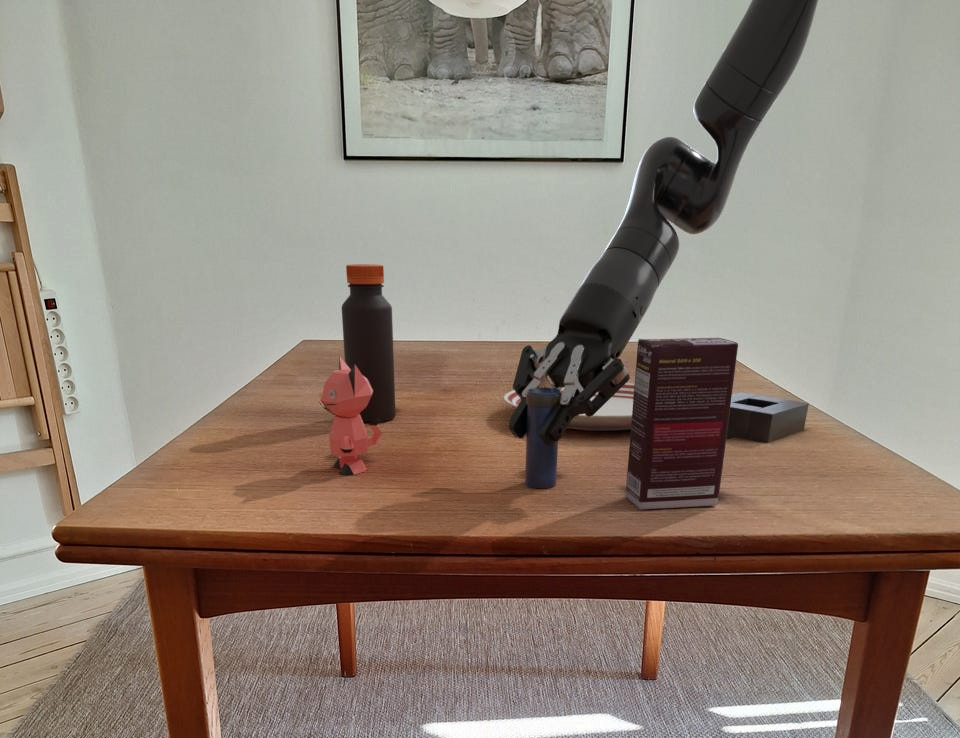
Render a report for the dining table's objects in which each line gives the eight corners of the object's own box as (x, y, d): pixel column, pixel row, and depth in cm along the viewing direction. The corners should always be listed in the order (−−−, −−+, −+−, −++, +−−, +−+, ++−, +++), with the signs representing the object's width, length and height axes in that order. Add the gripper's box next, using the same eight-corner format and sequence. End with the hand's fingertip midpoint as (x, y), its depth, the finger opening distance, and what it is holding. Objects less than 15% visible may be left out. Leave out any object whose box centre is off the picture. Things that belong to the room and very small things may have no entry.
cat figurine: (316, 463, 98) (307, 356, 93) (372, 457, 101) (367, 353, 95) (332, 479, 93) (324, 366, 87) (391, 473, 95) (387, 363, 90)
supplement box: (699, 493, 89) (720, 336, 82) (718, 507, 85) (742, 343, 78) (621, 496, 88) (636, 337, 81) (637, 511, 84) (653, 344, 77)
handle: (564, 484, 92) (569, 390, 87) (542, 491, 90) (546, 395, 85) (538, 477, 94) (542, 385, 90) (516, 484, 92) (519, 390, 87)
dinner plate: (464, 414, 123) (464, 391, 121) (591, 392, 139) (592, 371, 137) (606, 452, 104) (608, 425, 103) (733, 421, 120) (736, 397, 119)
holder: (802, 437, 112) (809, 403, 110) (766, 450, 106) (772, 414, 104) (735, 424, 119) (740, 392, 116) (697, 436, 112) (701, 402, 110)
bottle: (353, 424, 116) (344, 266, 107) (343, 414, 122) (334, 263, 113) (400, 421, 118) (395, 266, 109) (389, 411, 124) (384, 263, 115)
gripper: (544, 276, 92) (464, 404, 90) (652, 284, 83) (567, 427, 81) (571, 324, 98) (497, 445, 95) (676, 336, 89) (597, 471, 87)
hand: (530, 436), depth 88 cm, fingers closed on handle, 3 cm apart
